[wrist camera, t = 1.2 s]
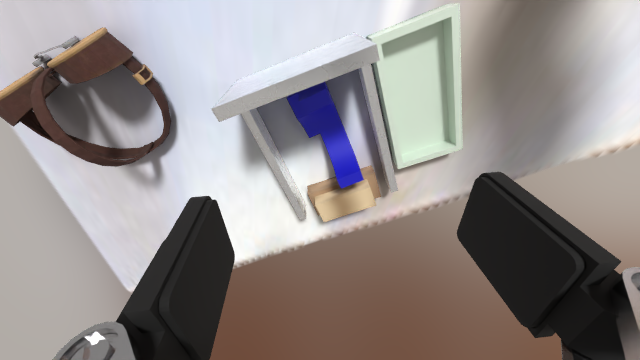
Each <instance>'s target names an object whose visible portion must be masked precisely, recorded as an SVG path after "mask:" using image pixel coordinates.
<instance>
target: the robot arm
mask: <svg viewBox="0 0 640 360" xmlns="http://www.w3.org/2000/svg"><path fill="white" fill-rule="evenodd" d="M457 236H458V239H459V241H460V242H461V244H462V245H463V246H464V248H465V249H466V250H467V252H468V253H469V254H470V256H471V257H472V258H473V260H474V261H475V262H476V264H477V265H478V267H479V268H480V269H481V271H482V272H483V273H484V275H485V276H486V277H487V279H488V280H489V281H490V283H491V284H492V286H493V287H494V288H495V290H496V291H497V292H498V294H499V295H500V296H501V298H502V299H503V300H504V302H505V303H506V305H507V306H508V307H509V309H510V310H511V311H512V313H513V314H514V315H515V317H516V318H517V320H518V321H519V322H520V323H521V324H522V325H523V326H525V327H527V328H528V329H529V331H530V332H531V333H532V335H533V336H534V337H535V338H538V337H548V336H552V335H553V334H554V333H555V332H556V333H557V335H558V336H559V337H560V338H561V347H562V360H640V268H638V267H633V268H627V269H625V270H624V271H623V272H622V273H621V274H619V273H617V272H616V271H615V270H614V269H615V268H616V267H617V266H618V265H619V264H620V263H621V261H620V260H619V259H617V258H616V257H615V256H613V255H612V254H611V253H609V252H608V251H607V250H605V249H604V248H603V247H601V246H600V245H598V244H597V243H596V242H595V241H593V240H592V239H591V238H589V237H588V236H587V235H585V234H584V233H582V232H581V231H580V230H578V229H577V228H576V227H575V226H573V225H572V224H570V223H569V222H568V221H566V220H565V219H564V218H562V217H561V216H560V215H558V214H557V213H556V212H554V211H553V210H552V209H550V208H549V207H548V206H546V205H545V204H544V203H542V202H541V201H539V200H538V199H537V198H536V197H534V196H533V195H532V194H530V193H529V192H528V191H526V190H525V189H523V188H522V187H521V186H520V185H518V184H517V183H516V182H514V181H513V180H512V179H510V178H509V177H508V176H506V175H505V174H503V173H501V172H491V173H483V174H481V175H480V176H479V178H477V179H476V180H475V182H474V185H473V188H472V190H471V193H470V196H469V200H468V202H467V205H466V208H465V210H464V213H463V216H462V219H461V222H460V224H459V227H458V230H457ZM234 259H235V255H234V250H233V247H232V244H231V241H230V238H229V235H228V233H227V230H226V227H225V224H224V221H223V218H222V215H221V212H220V209H219V206H218V203H217V201H216V200H212V199H211V198H210V197H209V196H202V197H192V198H190V199H189V201H188V203H187V204H186V206H185V208H184V209H183V211H182V213H181V214H180V216H179V218H178V220H177V221H176V223H175V225H174V226H173V228H172V230H171V232H170V233H169V235H168V237H167V238H166V239H165V240H164V242H163V243H162V244H161V246H160V248H159V250H158V251H157V253H156V255H155V256H154V258H153V260H152V261H151V263H150V265H149V266H148V268H147V270H146V271H145V273H144V275H143V277H142V278H141V280H140V282H139V283H138V285H137V287H136V288H135V290H134V292H133V293H132V295H131V297H130V299H129V300H128V302H127V304H126V305H125V307H124V309H123V310H122V312H121V314H120V316H119V317H118V319H117V321H116V322H104V323H100V324H97V325H94V326H92V327H90V328H88V329H86V330H84V331H83V332H81V333H80V334H78V335H77V336H75V337H74V338H73V339H71V340H70V341H69V342H68V343H67V344H66V345H65V346H64V347H63V348H62V349H61V350H60V351H59V352H58V353H57V354H56V356H55V357H54V359H53V360H209V359H210V356H211V352H212V348H213V344H214V340H215V336H216V332H217V328H218V324H219V320H220V316H221V312H222V308H223V304H224V300H225V296H226V292H227V288H228V284H229V280H230V276H231V272H232V268H233V264H234Z"/></svg>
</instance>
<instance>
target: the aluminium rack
mask: <svg viewBox="0 0 640 360" xmlns="http://www.w3.org/2000/svg"><path fill="white" fill-rule="evenodd" d="M377 61H380V59H379V54H378V48H377V44H376V43H374V42H372V41H370V40H368V39H366V38H364V37H362V36H360V35H358V34H356V33H351V34H349V35H346V36H344V37H342V38H339V39H337V40H334V41H332V42H329V43H327V44H324V45H322V46H319V47H317V48H314V49H312V50H309V51H307V52H305V53H302V54H300V55H297V56H295V57H292V58H290V59H287V60H285V61H282V62H280V63H277V64H275V65H273V66H270V67H268V68H265V69H263V70H260V71H258V72H255V73H253V74H250V75H248V76H245V77H243V78H240V79H238V80H237V81H236V82H235V83H234V84H233V85H232V86H231V87H230V88H229V90H228V91H227V92H226V93H225V94H224V95H223V96H222V97H221V98H220V100H219V101H218V102H217V103H216V104H215V105H214V106H213V107H212V111H213V113H214V114H215V116H216V118H217V119H218V121H219V122H220V121H223V120H226V119H228V118H231V117H233V116H236V115H239V114H241V115H242V116H243V118H244V120H245V122H246V124H247V125H248V127H249V129H250V131H251V133H252V134H253V136H254V138H255V140H256V142H257V143H258V145H259V147H260V149H261V151H262V152H263V154H264V156H265V158H266V160H267V161H268V163H269V165H270V167H271V169H272V170H273V172H274V174H275V176H276V177H277V179H278V181H279V183H280V185H281V186H282V188H283V190H284V192H285V194H286V195H287V197H288V199H289V201H290V203H291V204H292V206H293V208H294V210H295V212H296V213H297V215H298V217H299V219H300V220H302V219H305V218H306V204H305V202H304V200H303V198H302V196H301V194H300V192H299V190H298V188H297V186H296V184H295V183H294V181H293V179H292V177H291V175H290V173H289V171H288V169H287V167H286V165H285V163H284V161H283V159H282V157H281V155H280V153H279V151H278V149H277V147H276V145H275V143H274V142H273V140H272V138H271V136H270V134H269V132H268V130H267V128H266V126H265V124H264V122H263V120H262V118H261V116H260V114H259V112H258V110H257V107H259V106H262V105H265V104H267V103H270V102H273V101H275V100H278V99H280V98H283V97H286V96H288V95H291V94H293V93H296V92H299V91H301V90H304V89H307V88H309V87H312V86H314V85H317V84H320V83H322V82H325V81H327V80H330V79H333V78H335V77H338V76H341V75H343V74H346V73H348V72H351V71H354V70H356V69H358V71H359V75H360V79H361V83H362V87H363V91H364V95H365V99H366V104H367V108H368V112H369V116H370V120H371V124H372V128H373V132H374V136H375V140H376V144H377V148H378V152H379V156H380V160H381V165H382V169H383V173H384V177H385V181H386V183H387V185H388V187H389V189H390V191H391V192H395V191H398V188H397V183H396V179H395V174H394V169H393V165H392V160H391V156H390V151H389V146H388V142H387V137H386V132H385V128H384V123H383V118H382V114H381V109H380V104H379V100H378V95H377V91H376V86H375V81H374V77H373V72H372V67H371V64H372V63H374V62H377Z"/></svg>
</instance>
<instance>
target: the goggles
mask: <svg viewBox="0 0 640 360" xmlns="http://www.w3.org/2000/svg"><path fill="white" fill-rule="evenodd" d="M78 41H79V39H78V38H77V37H76V36H75V37H73V38H71V39H70V40H68V41H67V42H65V43H63V44H62V45H59V46H56V47H54V48H51V49H49V50H46V51H43V52H40V53H37V54H35V55H34V58H35V59H36V58H39V59H38V60H36V61H35V62H33V63H32V64H33V65H34V66H36V67H38V66H39V65H41V64H42V63H44V62H46V61H47V60H49V59H50V57H49V56H48V55H44V56H42V55H41V56H38V55H39V54H42V53H45V52H48V51H50V50H53V49H55V48H58V47H63V48H65V49H67V48H68V47H70V46H71V45H73V44H75V43H76V42H78ZM132 54H133V52H132V51H131V50H129V49H128V48H127V47H126V46H124V45H123V44H122V43H121V42H119V41H118V40H117V39H116V38H115V37H113V36H112V35H111V34H110V33H108V31H107V29H106V28H101V29H99V30H97V31H96V32H94V33H92V34H91V35H89V36H87V37H86V38H84V39H83V40H81V41H80V42H78V43H76V44H75V45H73V46H72V47H70V48H69V49H67V50H66V51H64V52H63V53H61V54H60V55H58V56H57V57H55V58H54V59H52V60H51V61H49V62H48V63H47V66H48V67H49V68H47V69H45V70H44V68H43V67H42V66H41V67H38V68H36V69H34V70H33V71H31V72H29V73H28V74H26V75H25V76H23V77H22V78H20V79H18V80H17V81H15V82H14V83H12V84H11V85H9V86H8V87H6V88H4V89H3V90H1V91H0V117H2V118H3V119H4V120H5V121H7V122H8V123H9V124H10V125H12V126H15V125H16V124H17V123H19V122H22V123H23V124H25V125H26V126H27V127H29V128H30V129H32V130H33V131H34V132H36V133H37V134H39V135H41V136H43V137H45V138H47V139H48V140H50V141H52V142H54V143H56V144H58V145H60V146H62V147H63V148H64V149H66V150H67V151H68V152H70V153H71V154H73V155H75V156H77V157H79V158H81V159H83V160H85V161H88V162H91V163H95V164H98V165H102V166H122V165H126V164H130V163H133V162H135V161H137V160H139V159H140V158H142V157H143V156H145V155H146V154H148V153H149V152H151V151H152V150H154V149H155V148H157V147H158V146H159V145H161V144H162V143H163V142H164V140H165V139H166V137H167V136H168V134H169V129H170V124H171V119H170V113H169V107H168V102H167V100H166V98H165V96H164V94H163V92H162V90H161V87H160V86H159V84H158V83H157V82H156V81H155V79H154V78H153V77H152V75H153V73H152V72H151V70H150V69H149V68H148V67H147V66H146V65H145V64H143V65H141V64H140V63H139V62H138V61H137V60H135V59H134V58H133V57H132ZM121 64H123V65H124V66H125V67H127V68H128V69H129V70H130V71H131V72H133V73H134V74H133V75H132V76H133V77H134V78H135V79H136V80H137V81H138V82H139V83H140V84H141V85H143V84H145V86H146V87H147V88H148V89H149V90H150V91H151V93H152V94H153V95H154V97H155V99H156V101H157V103H158V105H159V107H160V109H161V111H162V116H163V121H164V128H163V133H162V135H161V137H160V138H159V139H157V140H156V141H155V142H151V143H150V144H147V145H144V146H143V147H140V148H128V149H119V148H110V147H104V146H100V145H96V144H92V143H88V142H85V141H83V140H80V139H78V138H76V137H73V136H71V135H68V134H66V133H65V132H64V131H63V130H62V129H61V127H60V126H59V125H58V124H57V123H56V122H55V120H54V118H53V117H52V115H51V113H50V111H49V109H48V107H47V105H46V101H45V99H46V98H47V97H48V96H49V95H50V94H51V93H52V92H53V91H54V90H55V89H56V88H57V87H58V86H59V85H60V84H61V83H62V82H60V81H59V80H58V79H56V78H55V77H54V76H52V75H53V74H54V73H56V72H58V73H59V74H60V75H61V76H62V77H63V78H65V79H66V80H67V81H68V82H69V83H72V84H77V83H81V82H84V81H88V80H90V79H93V78H95V77H98V76H100V75H102V74H104V73H106V72H109V71H111V70H113V69H114V68H116V67H118V66H119V65H121ZM54 70H55V71H54ZM51 71H54V72H53V73H51V74H49V73H50V72H51ZM33 111H34V112H33ZM135 157H136V158H135ZM128 158H135V159H131V160H126V161H125V160H112V159H128Z"/></svg>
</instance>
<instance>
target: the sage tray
mask: <svg viewBox="0 0 640 360" xmlns="http://www.w3.org/2000/svg"><path fill="white" fill-rule="evenodd" d="M367 39H368V40H370V41H372V42H374V43H376V44H377V48H378V54H379V59H380V61H377V62H374V63H372V64H373V69H374V74H375V79H376V83H377V88H378V93H379V97H380V102H381V107H382V112H383V116H384V121H385V126H386V130H387V135H388V140H389V145H390V149H391V154H392V159H393V161H394V163H395V165H396V166H397V168H398V169H401V168H404V167H407V166H411V165H414V164H417V163H420V162H423V161H427V160H430V159H433V158H436V157H439V156H442V155H446V154H449V153H452V152H455V151H458V150H462V149H463V141H462V91H461V42H460V4H446V5H443V6H441V7H438V8H436V9H433V10H431V11H428V12H426V13H423V14H421V15H418V16H416V17H413V18H411V19H408V20H406V21H403V22H401V23H398V24H396V25H393V26H391V27H388V28H386V29H383V30H381V31H378V32H376V33H373V34H371V35H368V36H367Z"/></svg>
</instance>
